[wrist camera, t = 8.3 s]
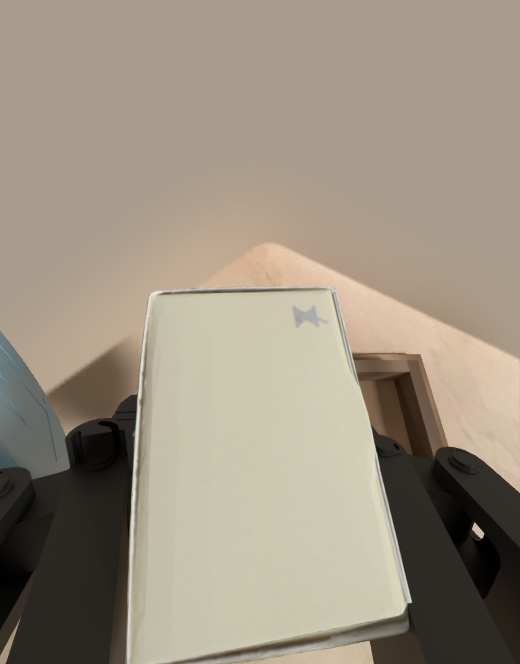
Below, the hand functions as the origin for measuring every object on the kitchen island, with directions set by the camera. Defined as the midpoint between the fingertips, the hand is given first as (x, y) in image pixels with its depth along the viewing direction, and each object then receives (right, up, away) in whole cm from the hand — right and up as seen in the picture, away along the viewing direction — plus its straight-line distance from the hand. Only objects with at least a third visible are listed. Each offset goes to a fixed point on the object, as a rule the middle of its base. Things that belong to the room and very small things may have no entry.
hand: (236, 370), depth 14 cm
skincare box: (0, -5, +2) cm, 6 cm away
